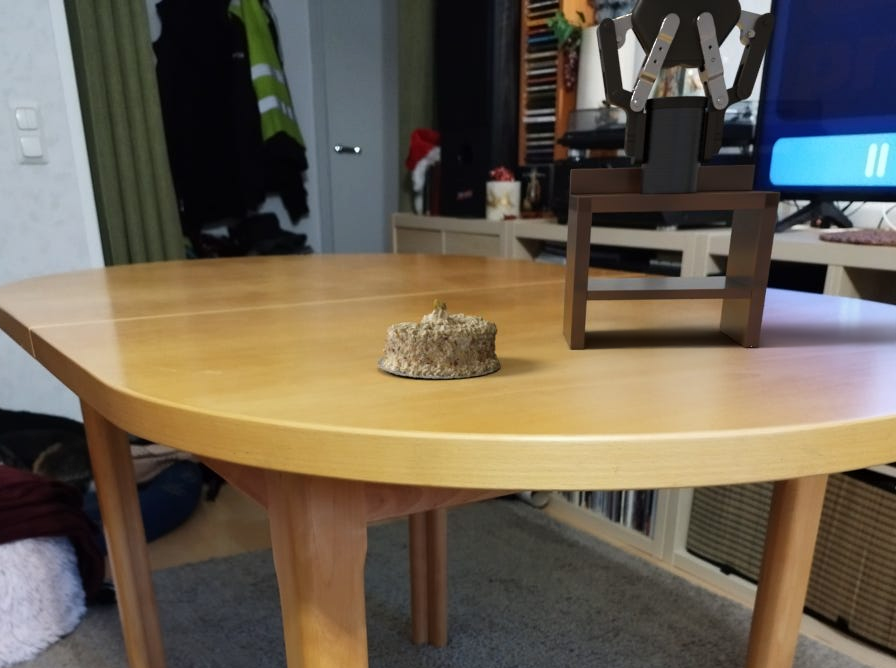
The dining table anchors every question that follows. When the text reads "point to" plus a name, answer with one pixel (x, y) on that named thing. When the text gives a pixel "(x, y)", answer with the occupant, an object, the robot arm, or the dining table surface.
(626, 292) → the spice rack
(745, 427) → the dining table surface
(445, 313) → the cake
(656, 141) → the spice tin
